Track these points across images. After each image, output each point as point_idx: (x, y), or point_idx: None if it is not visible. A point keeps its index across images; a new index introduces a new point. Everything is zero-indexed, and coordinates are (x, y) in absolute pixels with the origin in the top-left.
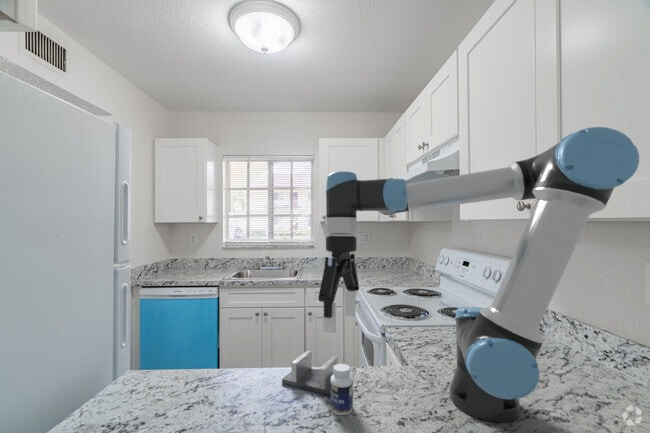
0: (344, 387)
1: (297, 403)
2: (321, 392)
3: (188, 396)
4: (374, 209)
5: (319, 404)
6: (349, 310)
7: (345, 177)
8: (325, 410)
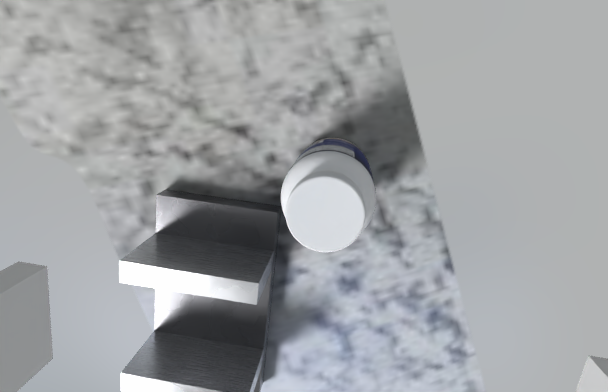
0: (370, 175)
1: (344, 309)
2: (274, 257)
3: None
4: None
5: None
6: (3, 352)
7: None
8: None
